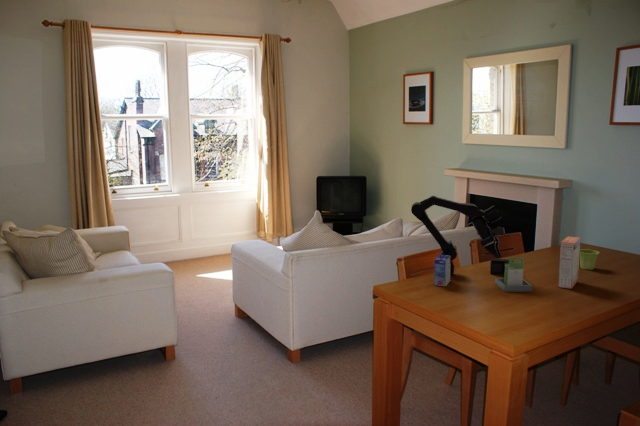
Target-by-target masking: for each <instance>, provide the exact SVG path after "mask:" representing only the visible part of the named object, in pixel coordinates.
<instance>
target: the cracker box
mask: <svg viewBox="0 0 640 426" xmlns="http://www.w3.org/2000/svg"><path fill="white" fill-rule="evenodd" d="M580 250H581V237H577V236H570V235H569V236H566V237H565V238H564V239H563V240H561V242H560V250H559V252H560V253H559V255H560V256H559V272H558V273H559V274H558V288H562V289H567V290H568V289H569V290H572V289H573V288H574V287H575V285H576V284H577V283H578V280H579V266H580V264H579V263H580V255H579V252H580Z"/></svg>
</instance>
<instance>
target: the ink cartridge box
mask: <svg viewBox="0 0 640 426" xmlns="http://www.w3.org/2000/svg"><path fill="white" fill-rule="evenodd" d="M442 253H443V252H442V250H440V251H439V252H438V256H437V257H435V259H434V286H438V287H447V285H448V284H449V283H451V282H450V281H451V275H450V255H442ZM440 254H441V255H440Z"/></svg>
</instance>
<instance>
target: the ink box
mask: <svg viewBox="0 0 640 426" xmlns="http://www.w3.org/2000/svg"><path fill="white" fill-rule="evenodd" d="M524 258H525V257H524V256H523V257H509V258H508V259H509V264H505V273H504V275H503V276H504V277H503V278H504V284H505V285H522V283H523V279H524V262H525V259H524ZM517 260H518V261H517ZM512 261H514V262H512Z"/></svg>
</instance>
